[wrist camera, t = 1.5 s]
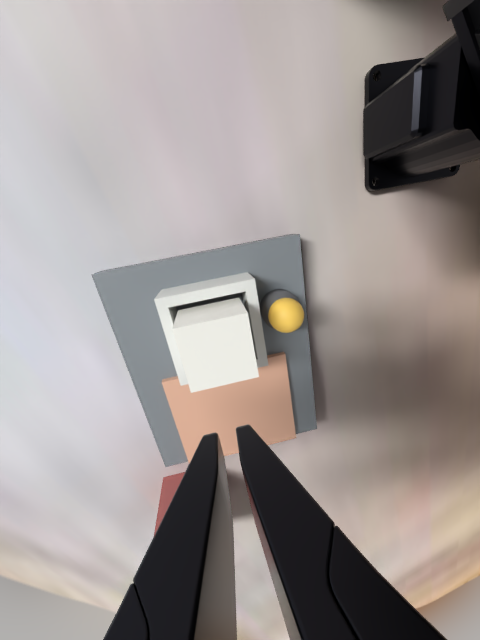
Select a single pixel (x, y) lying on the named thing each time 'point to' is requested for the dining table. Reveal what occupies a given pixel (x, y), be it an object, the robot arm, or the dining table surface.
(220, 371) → the block
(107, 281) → the panel
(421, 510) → the dining table surface
